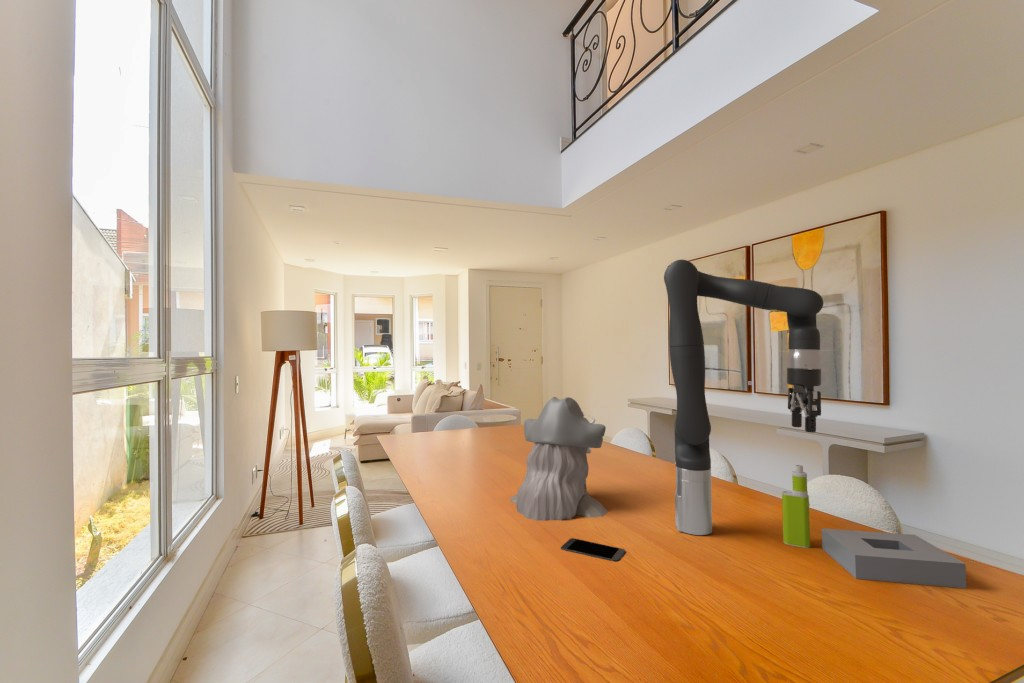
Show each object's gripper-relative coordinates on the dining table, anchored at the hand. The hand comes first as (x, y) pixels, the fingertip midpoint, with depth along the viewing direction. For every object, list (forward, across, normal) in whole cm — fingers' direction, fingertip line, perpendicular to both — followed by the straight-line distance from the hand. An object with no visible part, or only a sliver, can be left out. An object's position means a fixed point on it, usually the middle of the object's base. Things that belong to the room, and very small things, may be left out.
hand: (803, 429), depth 118 cm
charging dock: (+29, +11, +13) cm, 33 cm away
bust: (+32, -19, -65) cm, 75 cm away
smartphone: (+31, +15, -53) cm, 63 cm away
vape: (+29, +1, -2) cm, 29 cm away
